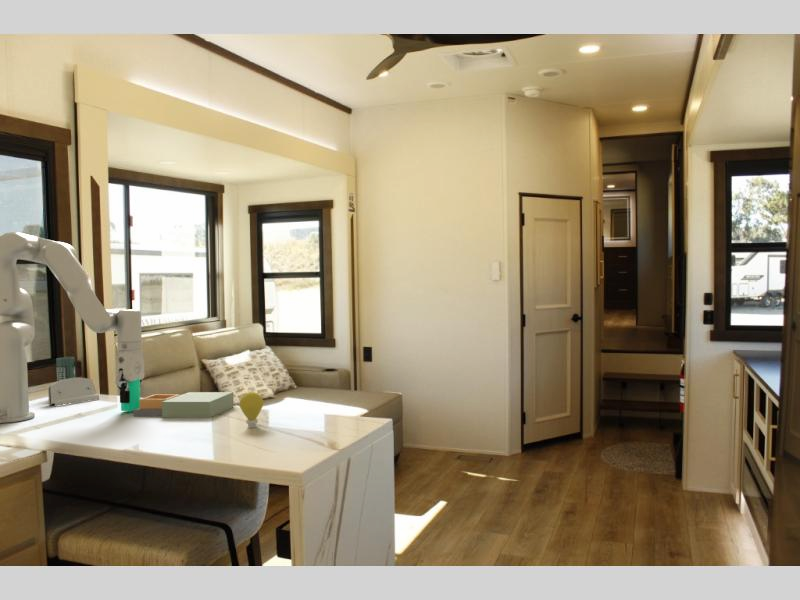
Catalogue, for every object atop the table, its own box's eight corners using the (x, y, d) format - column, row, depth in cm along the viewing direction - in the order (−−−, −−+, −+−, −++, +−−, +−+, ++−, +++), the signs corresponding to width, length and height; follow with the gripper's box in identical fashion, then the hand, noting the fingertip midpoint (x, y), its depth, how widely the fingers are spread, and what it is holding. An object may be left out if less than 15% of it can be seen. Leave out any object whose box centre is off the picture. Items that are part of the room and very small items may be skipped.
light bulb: (267, 427, 189) (265, 392, 188) (244, 430, 185) (242, 395, 185) (259, 423, 194) (258, 389, 194) (237, 426, 191) (236, 392, 191)
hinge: (54, 406, 232) (49, 379, 234) (49, 410, 235) (43, 383, 237) (100, 399, 245) (95, 373, 247) (94, 402, 248) (89, 377, 250)
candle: (118, 409, 219) (117, 373, 218) (136, 407, 223) (135, 371, 222) (125, 411, 214) (124, 375, 214) (143, 409, 218) (142, 373, 218)
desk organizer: (210, 417, 205) (209, 401, 204) (130, 417, 209) (129, 401, 209) (233, 406, 222) (233, 392, 222) (159, 406, 227) (158, 392, 226)
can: (79, 395, 256) (77, 357, 256) (67, 398, 250) (65, 359, 250) (66, 395, 258) (64, 357, 257) (54, 397, 252) (52, 358, 252)
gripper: (125, 349, 209) (125, 406, 209) (153, 344, 226) (154, 397, 226) (103, 349, 210) (104, 405, 210) (133, 344, 227) (134, 396, 227)
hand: (130, 400), depth 218 cm, fingers closed on candle, 5 cm apart
